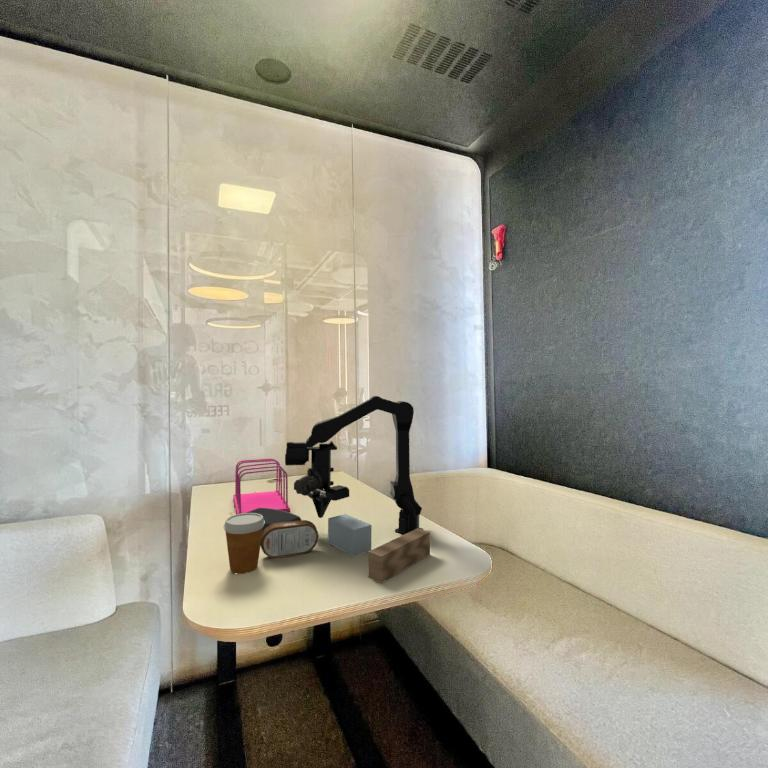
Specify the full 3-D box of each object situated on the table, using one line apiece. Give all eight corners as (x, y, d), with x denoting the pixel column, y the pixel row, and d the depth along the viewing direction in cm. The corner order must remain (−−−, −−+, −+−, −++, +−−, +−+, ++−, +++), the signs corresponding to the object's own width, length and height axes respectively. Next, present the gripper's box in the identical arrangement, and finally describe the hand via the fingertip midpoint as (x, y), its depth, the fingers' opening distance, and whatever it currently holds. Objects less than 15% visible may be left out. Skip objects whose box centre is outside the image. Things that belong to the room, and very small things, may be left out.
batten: (417, 550, 107) (417, 528, 107) (429, 554, 105) (430, 531, 105) (368, 577, 92) (368, 551, 92) (381, 583, 89) (381, 556, 89)
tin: (316, 548, 108) (317, 517, 108) (319, 552, 105) (319, 520, 105) (259, 556, 103) (259, 524, 103) (260, 561, 100) (260, 528, 100)
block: (345, 537, 116) (345, 513, 116) (371, 550, 107) (371, 524, 107) (327, 542, 112) (328, 518, 112) (353, 556, 103) (353, 530, 103)
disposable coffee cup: (216, 567, 96) (216, 518, 96) (253, 556, 103) (253, 509, 103) (233, 581, 89) (233, 528, 89) (271, 568, 96) (272, 518, 96)
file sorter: (237, 519, 131) (237, 472, 131) (233, 499, 154) (233, 459, 154) (290, 513, 138) (290, 468, 138) (278, 494, 161) (279, 456, 161)
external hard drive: (260, 517, 135) (261, 504, 135) (305, 527, 125) (305, 514, 125) (229, 528, 123) (229, 515, 123) (275, 541, 114) (275, 526, 114)
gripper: (279, 464, 117) (278, 517, 117) (321, 473, 105) (321, 532, 105) (308, 459, 126) (308, 508, 126) (350, 467, 114) (350, 521, 114)
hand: (320, 517), depth 117 cm, fingers closed
